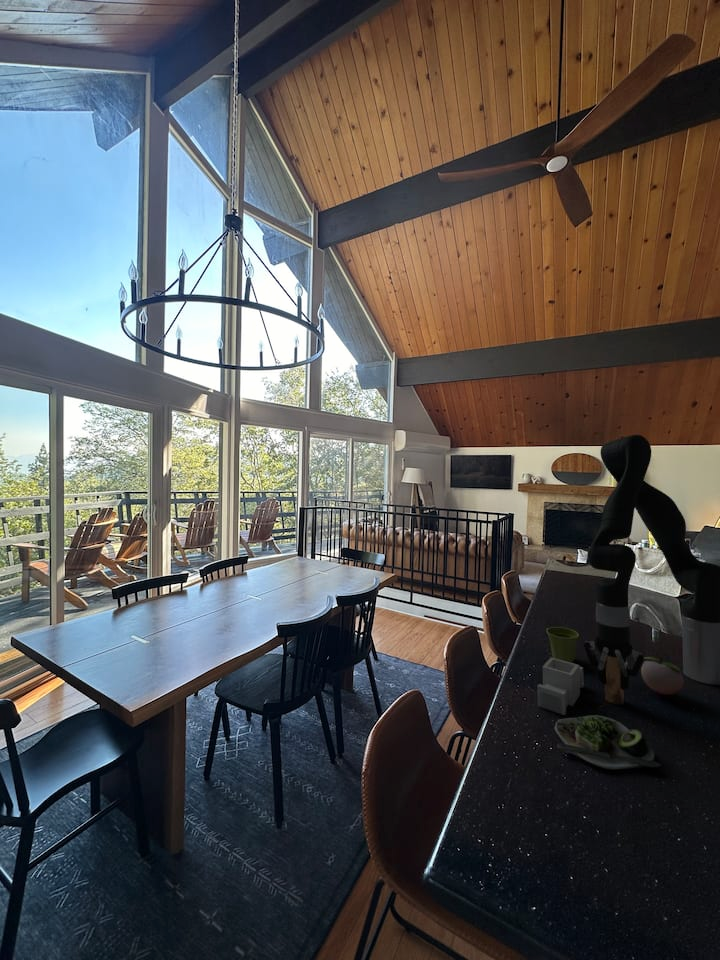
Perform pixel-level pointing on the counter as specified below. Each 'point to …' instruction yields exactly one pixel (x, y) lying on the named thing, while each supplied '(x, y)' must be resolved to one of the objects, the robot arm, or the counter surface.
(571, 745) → the salad plate
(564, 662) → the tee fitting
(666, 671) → the decorative fruit
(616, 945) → the counter surface
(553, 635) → the plant pot
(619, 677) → the brown rounded rod
